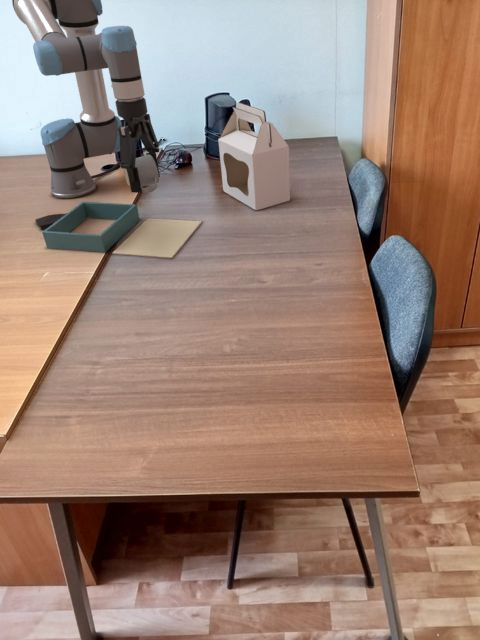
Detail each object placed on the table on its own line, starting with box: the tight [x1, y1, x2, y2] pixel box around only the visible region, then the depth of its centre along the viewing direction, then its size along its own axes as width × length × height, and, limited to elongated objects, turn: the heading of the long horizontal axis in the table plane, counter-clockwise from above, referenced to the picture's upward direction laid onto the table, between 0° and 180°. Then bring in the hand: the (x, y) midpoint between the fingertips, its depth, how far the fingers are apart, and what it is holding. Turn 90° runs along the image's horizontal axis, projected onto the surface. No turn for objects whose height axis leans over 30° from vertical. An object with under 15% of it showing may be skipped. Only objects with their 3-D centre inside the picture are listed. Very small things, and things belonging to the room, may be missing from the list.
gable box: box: [217, 102, 291, 211], centre depth 169 cm, size 22×13×28 cm, turn 32°
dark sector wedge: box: [34, 212, 68, 231], centre depth 169 cm, size 8×14×2 cm, turn 120°
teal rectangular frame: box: [41, 201, 140, 253], centre depth 159 cm, size 23×19×5 cm
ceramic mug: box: [122, 154, 160, 194], centre depth 144 cm, size 11×8×8 cm
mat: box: [111, 217, 203, 260], centre depth 156 cm, size 24×18×1 cm
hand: (146, 184), depth 146 cm, fingers closed on ceramic mug, 11 cm apart
